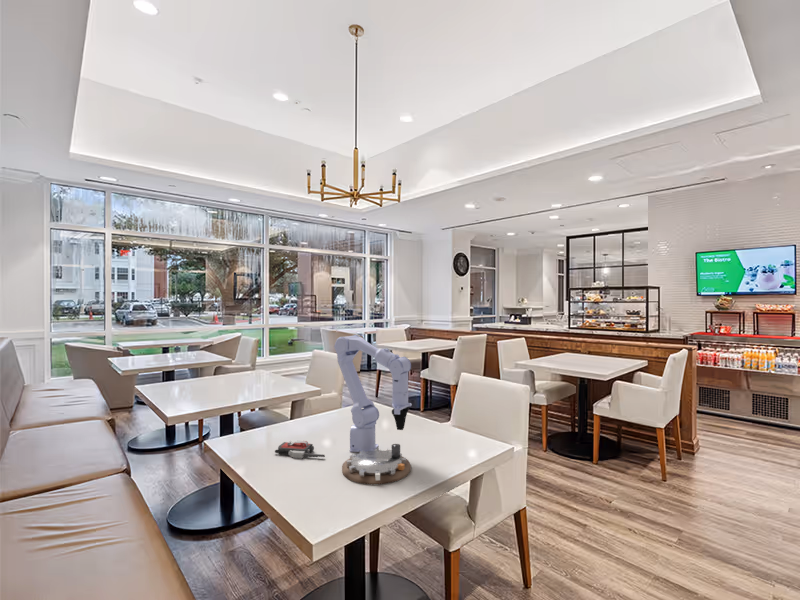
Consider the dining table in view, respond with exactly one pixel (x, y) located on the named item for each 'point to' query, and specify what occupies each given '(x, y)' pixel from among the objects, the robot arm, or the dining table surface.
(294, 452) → the walkie-talkie
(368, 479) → the sprocket base
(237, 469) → the dining table surface
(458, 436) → the dining table surface
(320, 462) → the dining table surface
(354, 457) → the sprocket
